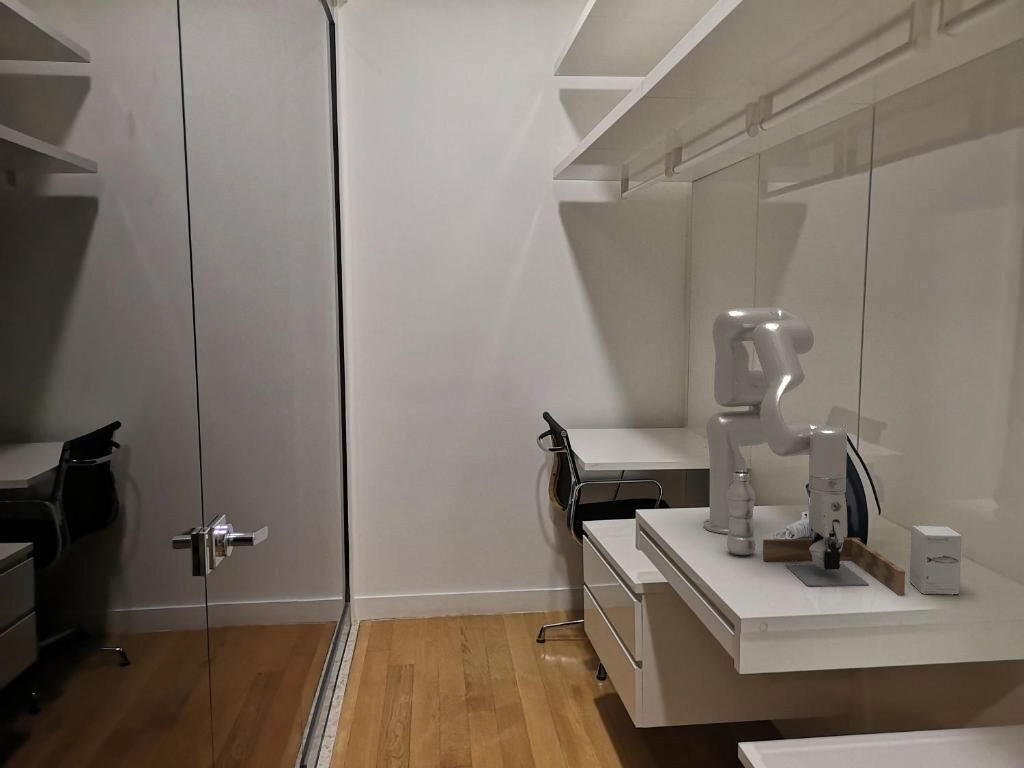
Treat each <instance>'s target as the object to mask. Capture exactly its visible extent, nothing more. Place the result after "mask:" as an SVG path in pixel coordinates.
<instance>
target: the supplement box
mask: <svg viewBox="0 0 1024 768" xmlns="http://www.w3.org/2000/svg"><path fill="white" fill-rule="evenodd" d="M910 529H911V531H910V556H909V557H910V561H909V562H910V563H909V583H910V582H911V583H912V584H913V585H914V586H915V587H916V588H917V589H916V588H915V587H914V588H915V589H916V590H917V591H919V593H921V594H922V593H923V594H922V595H925V594H926V595H927V594H928V595H929V594H934V595H937V594H938V595H953V594H952V593H954V594H955V593H956V594H959V595H960V590H961V589H960V587H961V586H960V585H961V583H960V582H961V579H960V578H961V560H962V559H961V557H962V540H963V539H962V538H963V537H962V536H963V535H961V534H960V533H958V532H957V531H955V530H953V529H952V528H951V527H949V526H944V525H943V526H938V525H937V526H933V525H911V528H910ZM911 583H910V584H911ZM912 584H911V585H912Z"/></svg>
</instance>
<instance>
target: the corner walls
mask: <svg viewBox="0 0 1024 768" xmlns="http://www.w3.org/2000/svg"><path fill="white" fill-rule="evenodd" d="M843 539H844V542H843V544H842V545H843V547H842V551H841V552H840V561H852V562H853V563H855V564H856V565H857V566H859V567H860V569H863V571H865V572H866V573H868V574H869V575H871V576H872V577H874V578H875V579H876V580H877V581H878V582H880V583H881V584H882V585H884V586H886V587H887V588H888V589H890V590H891V591H892V592H894V594H896V595H898V596H905V589H906V588H905V587H906V571H905V570H904V569H902V568H901V567H899V566H898V565H897V564H894V563H893V562H892V561H891V560H889V559H887V558H886V557H884V556H883V555H882V554H879V553H878V552H876V550H874V549H872V548H871V547H869V546H868V545H866V544H865V543H863V542H862V539H861V538H860V537H846V538H843ZM762 544H763V545H762V561H763V562H764V563H769V562H770V563H773V562H775V563H776V562H779V563H780V562H813V560H812V555H811V552H810V550H809V548H810V546H811V545H812V538H771V539H769V538H768V539H767V538H766V539H763V540H762Z"/></svg>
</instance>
